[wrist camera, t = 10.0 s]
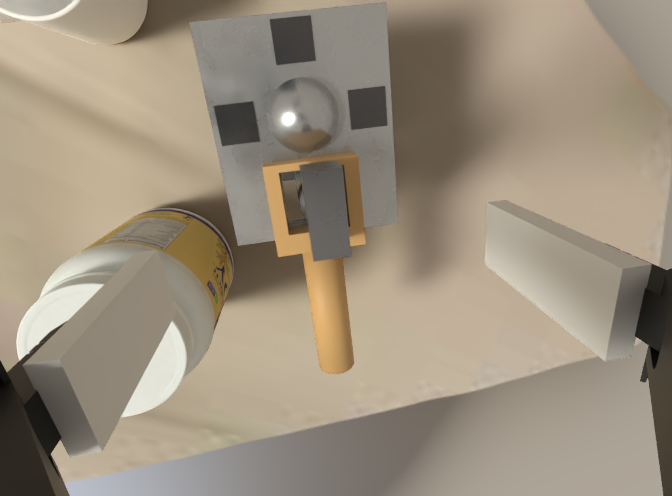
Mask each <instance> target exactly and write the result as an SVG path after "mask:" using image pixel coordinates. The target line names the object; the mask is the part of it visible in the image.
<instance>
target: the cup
mask: <svg viewBox="0 0 672 496" xmlns="http://www.w3.org/2000/svg"><path fill="white" fill-rule="evenodd" d="M147 6H148V0H0V23H9V22H16V21H21V20H23V21H26V22H29V23H32V24H35V25H38V26H41V27H44V28H47V29H50V30H52V31H55V32H58V33H61V34H64V35H67V36H70V37H73V38H76V39H79V40H82V41H85V42H89V43H93V44H98V45H113V44H118V43H121V42H124V41H126V40H128V39H129V38H131V37H132V36H133V35H134V34H135V33H136V32H137V31H138V30H139V28H140V27H141V25H142V23H143V21H144V19H145V16H146V12H147Z"/></svg>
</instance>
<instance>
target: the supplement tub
mask: <svg viewBox="0 0 672 496" xmlns="http://www.w3.org/2000/svg"><path fill="white" fill-rule="evenodd" d="M152 250H158V253H159V256H160V260H161V263H162V266H163V269H164V273H165V276H166V279H167V282H168V286H169V289H170V292H171V295H172V299H173V302H174V305H175V308H176V314H175V316H174V318H173V320H172V322H171V323H170V325H169V327H168V329H167V331H166V333H165V335H164V337H163V339H162V340H161V342H160V344H159V346H158V348H157V350H156V352H155V354H154V355H153V357H152V359H151V361H150V363H149V365H148V367H147V369H146V370H145V372H144V374H143V376H142V378H141V380H140V382H139V384H138V385H137V387H136V389H135V391H134V393H133V395H132V397H131V399H130V400H129V402H128V404H127V406H126V408H125V410H124V412H123V414H122V416H121V417H127V416H132V415H136V414H140V413H143V412H146V411H148V410H150V409H152V408H154V407H156V406H158V405H160V404H161V403H163V402H164V401H165V400H167V399H168V398H169V397H170V396H171V395H172V394H173V393H174V392H175V391H176V389H177V388H178V386H179V385H180V383H181V381H182V379H183V378H184V377H185V376H186V375H187V374H188V373H190V372H191V371H192V370H193V369H194V368H195V367H196V366H197V365H198V363H199V362H200V361H201V359H202V358H203V356H204V355H205V353H206V352H207V350H208V348H209V346H210V343H211V341H212V337H213V333H214V330H215V327H216V325H217V322H218V319H219V316H220V313H221V310H222V308H223V305H224V302H225V299H226V296H227V293H228V290H229V288H230V286H231V283H232V280H233V274H234V263H233V257H232V253H231V250H230V247H229V245H228V243H227V241H226V239H225V238H224V236H223V235H222V233H221V232H220V231H219V230H218V229H217V228H216V227H215V226H214V225H213V224H212V223H211V222H209V221H208V220H206V219H205V218H203V217H201V216H199V215H197V214H195V213H192V212H190V211H186V210H182V209H176V208H158V209H152V210H148V211H145V212H142V213H140V214H137V215H135V216H134V217H132V218H131V219H129V220H128V221H127V222H125V223H124V224H122V225H121V226H119V227H118V228H116V229H115V230H113V231H111V232H110V233H108V234H107V235H105V236H104V237H102V238H101V239H99V240H98V241H96V242H95V243H93V244H92V245H90V246H89V247H87V248H86V249H84V250H83V251H81V252H80V253H78V254H76V255H74V256H72V257H71V258H69V259H68V260H67V261H65V262H64V263H63V264H62V265H61V266H60V267H59V268H58V269H57V270H56V271H55V272H54V273H53V274H52V275H51V277H50V278H49V280H48V281H47V283H46V284H45V286H44V288H43V290H42V293H41V295H40V298H39V300H38V301H37V302H35V303H34V305H33V306H32V307H31V308H30V309H29V310H28V311H27V313H26V314H25V316H24V318H23V319H22V321H21V324H20V326H19V330H18V334H17V352H18V357H19V360H21V359H22V358H23V357H24V356H25V355H26V354H29V351H30V350H31V349H32V348H34V347H35V346H36V345H38V344H39V342H40V341H41V340H42V339H43V338H44V337H45V336H46V335H47V334H48V333H49V332H50V331H52V330H53V329H55V328H56V327H58V326H60V325H61V324H63V323H64V322H66V321H68V320H69V319H70V318H71V317H72V316H73V315H74V314H75V313H76V312H77V311H78V310H79V309H80V308H81V307H82V306H83V305H84V304H85V303H86V302H87V301H88V300H89V299H90V298H91V297H92V296H93V295H94V294H95V293H96V292H97V291H98V290H99V289H100V288H101V287H102V286H103V285H104V284H106V283H107V282H108V281H109V280H110V279H111V278H112V277H113V276H114V275H115V274H116V273H117V272H118V271H119V270H120V269H121V268H122V267H123V266H124V265H125V264H126V263H127V262H128V261H129V260H130V259H131V258H132V257H133V256H134V255H135V254H136V253H138V252H145V251H152Z"/></svg>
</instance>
